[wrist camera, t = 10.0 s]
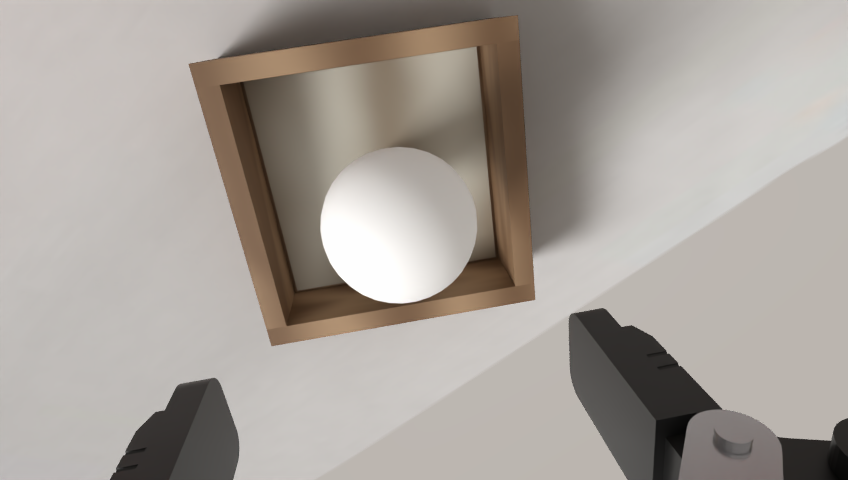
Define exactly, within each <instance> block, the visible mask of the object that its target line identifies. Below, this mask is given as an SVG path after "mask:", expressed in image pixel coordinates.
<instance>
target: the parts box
mask: <svg viewBox="0 0 848 480" xmlns="http://www.w3.org/2000/svg"><path fill="white" fill-rule="evenodd" d="M189 67H190V70H191V74H192V77H193V81H194V84H195V87H196V91H197V94H198V98H199V101H200V104H201V108H202V111H203V115H204V118H205V121H206V125H207V128H208V132H209V135H210V138H211V142H212V145H213V148H214V152H215V155H216V159H217V162H218V165H219V169H220V172H221V176H222V179H223V182H224V186H225V189H226V193H227V196H228V199H229V203H230V206H231V210H232V213H233V216H234V220H235V223H236V227H237V230H238V233H239V237H240V240H241V244H242V247H243V250H244V254H245V257H246V261H247V264H248V267H249V271H250V274H251V278H252V281H253V284H254V288H255V291H256V295H257V298H258V301H259V305H260V308H261V312H262V315H263V318H264V322H265V325H266V329H267V332H268V335H269V339H270V342H271V346H275V345H281V344H286V343H292V342H298V341H304V340H309V339H315V338H321V337H326V336H332V335H338V334H343V333H349V332H355V331H360V330H366V329H372V328H377V327H383V326H389V325H395V324H400V323H406V322H412V321H417V320H423V319H429V318H434V317H440V316H446V315H451V314H457V313H463V312H468V311H474V310H480V309H486V308H491V307H497V306H503V305H508V304H514V303H520V302H525V301H531V300H535V289H534V273H533V257H532V240H531V224H530V207H529V191H528V175H527V158H526V142H525V125H524V109H523V92H522V76H521V60H520V43H519V27H518V15H516V16H506V17H497V18H489V19H482V20H476V21H469V22H462V23H455V24H448V25H442V26H435V27H428V28H421V29H415V30H408V31H401V32H394V33H388V34H381V35H374V36H367V37H360V38H354V39H347V40H340V41H333V42H327V43H320V44H313V45H306V46H300V47H293V48H286V49H279V50H272V51H266V52H259V53H252V54H245V55H239V56H232V57H225V58H218V59H213V60H207V61H202V62H196V63H191V64H189ZM392 147H406V148H415V149H419V150H422V151H426V152H429V153H431V154H433V155H435V156H437V157H439V158H441V159H442V160H444V161H445V162H446V163H447V164H449V165H450V166H451V167H452V168H454V170H455V171H456V172H457V173H458V175H459V176H460V177H461V178H462V179H463V181H464V182H465V184H466V186H467V187H468V189H469V191H470V193H471V195H472V197H473V201H474V205H475V208H476V216H477V234H476V241H475V246H474V248H473V251H472V254H471V257H470V259H469V261H468V263H467V264H466V266H465V268H464V269H463V271H462V273H461V274H460V275H459V276H458V277H457V278H456V279H455V280H454V282H453V283H451V284H450V285H449V286H448V287H446V288H445V289H444V290H442V291H441V292H439V293H437V294H435V295H433V296H431V297H429V298H426V299H423V300H420V301H417V302H410V303H387V302H382V301H378V300H374V299H372V298H369V297H367V296H364V295H362V294H361V293H359V292H358V291H356V290H355V289H353V288H352V287H350V286H349V285H348V284H347V283H346V282H345V281H344V280H343V279H342V278H341V277H340V276H339V275H338V274H337V272H336V271H335V269H334V268H333V266H332V265H331V263H330V261H329V259H328V256H327V254H326V252H325V249H324V246H323V242H322V237H321V231H320V225H321V213H322V209H323V205H324V201H325V197H326V195H327V193H328V191H329V188H330V186H331V184H332V183H333V181H334V180H335V179H336V178H337V176H338V175H339V174H340V172H341V171H342V170H344V169H345V168H346V167H347V166H348V165H349V164H351V163H352V162H353V161H355V160H356V159H358V158H360V157H362V156H363V155H365V154H367V153H370V152H373V151H376V150H380V149H384V148H392Z"/></svg>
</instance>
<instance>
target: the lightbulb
mask: <svg viewBox="0 0 848 480" xmlns="http://www.w3.org/2000/svg"><path fill="white" fill-rule="evenodd" d="M320 231H321V237H322V242H323V246H324V249H325V252H326V254H327V256H328V259H329V261H330V263H331V265H332V266H333V268H334V269H335V271H336V272H337V274H338V275H339V276H340V277H341V278H342V279H343V280H344V281H345V282H346V283H347V284H348V285H349V286H350V287H352V288H353V289H355V290H356V291H358V292H359V293H361V294H362V295H364V296H367V297H369V298H372V299H374V300H378V301H382V302H387V303H410V302H417V301H420V300H423V299H426V298H429V297H431V296H433V295H435V294H437V293H439V292H441V291H442V290H444V289H445V288H446V287H448V286H449V285H450V284H451V283H453V282H454V280H455V279H456V278H457V277H458V276H459V275H460V274H461V273H462V271H463V269H464V268H465V266H466V264H467V263H468V261H469V259H470V257H471V254H472V251H473V248H474V246H475V241H476V234H477V216H476V208H475V205H474V201H473V197H472V195H471V193H470V191H469V189H468V187H467V186H466V184H465V182H464V181H463V179H462V178H461V177H460V176H459V175H458V173H457V172H456V171H455V170H454V168H452V167H451V166H450V165H449V164H447V163H446V162H445V161H444V160H442V159H441V158H439V157H437V156H435V155H433V154H431V153H429V152H426V151H422V150H419V149H415V148H406V147H392V148H384V149H380V150H376V151H373V152H370V153H367V154H365V155H363V156H362V157H360V158H358V159H356V160H355V161H353V162H352V163H351V164H349V165H348V166H347V167H346V168H345V169H344V170H342V171H341V172H340V174H339V175H338V176H337V178H336V179H335V180H334V181H333V183H332V184H331V186H330V188H329V191H328V193H327V195H326V197H325V201H324V205H323V209H322V213H321V225H320Z"/></svg>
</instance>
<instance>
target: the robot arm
mask: <svg viewBox="0 0 848 480" xmlns="http://www.w3.org/2000/svg"><path fill="white" fill-rule="evenodd" d="M569 351H570V373H571V379H572V383H573V386H574V389H575V392H576V394H577V396H578V398H579V400H580V401H581V403H582V405H583V406H584V408H585V410H586V411H587V413H588V415H589V416H590V418H591V420H592V421H593V423H594V425H595V426H596V428H597V430H598V431H599V433H600V435H601V436H602V438H603V440H604V441H605V443H606V444H607V446H608V448H609V450H610V451H611V453H612V455H613V456H614V458H615V459H616V461H617V463H618V465H619V466H620V468H621V470H622V471H623V473H624V475H625V476H626V478H627V479H628V480H848V418H847V419H845V420H842V421H840V422H839V423H838V424H837V425H836V426H835V428H834V431H833V436H832V440H831V441H824V440H807V439H791V438H780V437H776V435H775V434H774V433H773V432H772V431H771V430H770V429H769V428H767V426H765V425H764V424H762V423H761V422H759V421H758V420H756V419H754V418H752V417H750V416H747V415H744V414H742V413H738V412H734V411H729V410H722V408H721V407H720V406H719V405H718V404H717V403H716V402H715V401H714V400H713V399H712V398H711V397H710V396H709V395H708V394H707V393H706V392H705V391H704V390H703V389H702V388H701V386H700V385H699V384H698V383H697V382H696V381H695V380H694V379H693V378H692V377H691V376H690V375H689V374H688V373H687V372H686V371H685V370H684V369H683V368H682V367H681V366H679V365H678V363H677V361H676V360H675V359H674V358H673V357H672V356H671V355H670V354H667V352H666V350H665V349H664V348H663V347H662V346H661V345H660V344H659V343H658V342H657V341H656V339H655V338H653V336H651V335H649V334H647V333H645V332H643V331H641V330H640V329H638V328H635V327H634V326H632V325H631V326H625V327H621V326H620V325H619V324H618V323H617V322H616V320H615V319H614V318H613V317H612V316H611V315H610V314H609V312H608V311H607V310H606V309H603V308H601V309H595V310H590V311H584V312H579V313H573V314H571V315H570V317H569ZM125 452H126V454H125V455H124V456H123V457H122V459H121V460H120V462H119V464H118V466H117V468H116V473H113V475H112V477H111V479H110V480H233V478H234V474H235V470H236V467H237V463H238V458H239V439H238V433H237V430H236V427H235V424H234V421H233V418H232V416H231V413H230V410H229V407H228V404H227V401H226V399H225V396H224V393H223V390H222V387H221V385H220V383H219V381H218V380H217V379H216V378H211V379H205V380H200V381H194V382H189V383H183V384H179V385H178V386H177V387H176V389H175V391H174V393H173V395H172V397H171V399H170V401H169V403H168V405H167V407H166V409H165V411H159V412H155V413H154V414H153V415H152V416H151V417H150V418H149V419H148V420H147V421H146V422H145V423H144V424H143V425H142V426H141V427H140V428H139V429H138V430H137V431H136V433H135V435H134V436H133V438H132V440H131V442H130V444H129V446H128V447H127V449H126V451H125Z"/></svg>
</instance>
